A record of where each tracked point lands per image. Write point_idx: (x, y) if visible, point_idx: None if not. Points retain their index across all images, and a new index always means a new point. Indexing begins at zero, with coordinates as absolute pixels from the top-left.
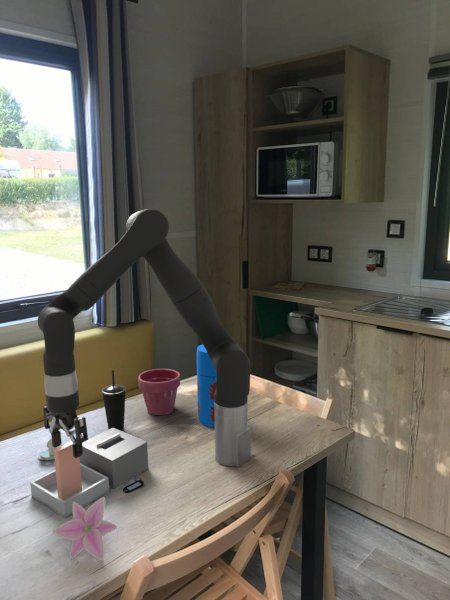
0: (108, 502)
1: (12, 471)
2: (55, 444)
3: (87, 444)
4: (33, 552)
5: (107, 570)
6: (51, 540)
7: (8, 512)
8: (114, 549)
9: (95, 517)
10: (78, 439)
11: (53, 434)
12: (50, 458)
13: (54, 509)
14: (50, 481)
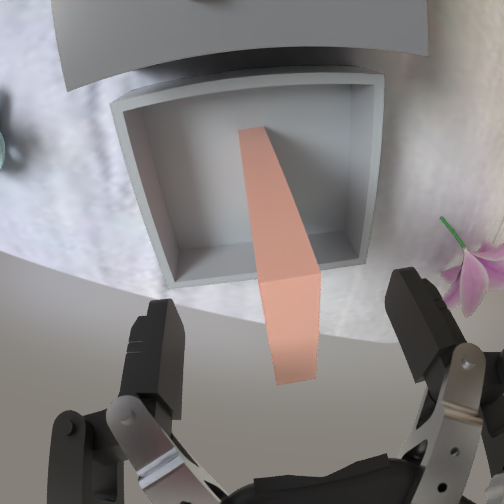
0: (397, 109)
1: (19, 244)
2: (181, 341)
3: (110, 39)
4: (372, 308)
5: (498, 245)
6: (378, 279)
7: (205, 306)
8: (492, 213)
9: (499, 269)
10: (493, 406)
11: (178, 416)
12: (4, 148)
13: None
14: (160, 209)
